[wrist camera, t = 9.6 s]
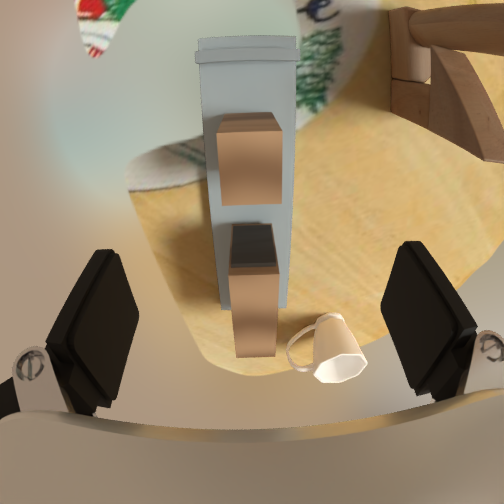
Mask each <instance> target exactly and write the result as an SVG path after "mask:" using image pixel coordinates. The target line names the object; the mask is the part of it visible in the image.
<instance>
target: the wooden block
mask: <svg viewBox="0 0 504 504" xmlns="http://www.w3.org/2000/svg"><path fill="white" fill-rule="evenodd" d="M389 23H390V39H391V68H392V78H394V79H393V80H392V82H391V112H392V113H393V114H396V115H398V116H400V117H402V118H405V119H407V120H409V121H411V122H413V123H415V124H418V125H420V126H422V127H424V128H426V129H428V130H429V131H431V132H433V133H435V134H437V135H439V136H441V137H443V138H445V139H447V140H449V141H450V142H452V143H454V144H456V145H458V146H459V147H461V148H463V149H465V150H466V151H468V152H470V153H471V154H473V155H475V156H476V157H478V158H480V159H481V160H483V161H487V162H496V163H503V164H504V129H503V127H502V124H501V122H500V120H499V118H498V115H497V113H496V111H495V109H494V107H493V105H492V102H491V100H490V98H489V96H488V94H487V92H486V90H485V88H484V87H483V85H482V83H481V81H480V79H479V77H478V75H477V74H476V72H475V70H474V68H473V67H472V65H471V63H470V62H469V60H468V58H467V57H466V55H465V54H464V53H460V52H457V51H454V50H460V51H470V52H478V53H486V54H492V55H499V56H504V3H495V4H473V5H460V6H451V7H442V8H435V9H428V10H418V9H414V8H410V7H402V8H398V9H394V10H390V11H389ZM430 77H431V85H430V84H425V82H426V81H427V80H428V79H429V78H430Z"/></svg>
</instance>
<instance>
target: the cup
mask: <svg viewBox="0 0 504 504" xmlns="http://www.w3.org/2000/svg"><path fill="white" fill-rule="evenodd" d="M312 329H316V330H315V332H314V341H313V363H311V364H309V365H306V366H303V367H302V366H298V365H297V364H295V363H294V362H292V360H291V358H290V356H289V349H290V346H291V345H292V344H293V343H294V342H295V341H296V340H297V339H298V338H300V337H301V336H302V335H303V334H305V333H306V332H308V331H310V330H312ZM286 353H287V357H288V361H289V363H290V364H291V366H292V367H293V368H294V369H296V370H297V371H302V372H305V371H311V370H313V375H314V376H315V377H316V378H317V379H318V380H320V381H321V382H322V383H340V382H343V381H345V380H348V379H350V378H353V377H355V376H357V375H359V374H360V373H361V371H362V370H363V369H364V367H365V366H366V365H367V361H366V359H365V357H364V355H363V353H362V351H361V350H360V347H359V345H358V343H357V341H356V339H355V337H354V336H353V334H352V333H351V331H350V330H349V328H348V327H347V325H346V324H345V321H344V319H343V317H342V316H341V314H340V313H331V312H328V313H326V314H324V315H322V316H320V317H318V318H317V320H316V322H315V324H312V325H309V326H307V327H305V328H304V329H302V330H301V331H300V332H298V333H297V334H296V335H295V336H293V337H292V338H291V340H290V341H289V342H288V343H287V347H286Z"/></svg>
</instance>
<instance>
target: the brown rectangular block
mask: <svg viewBox="0 0 504 504" xmlns="http://www.w3.org/2000/svg"><path fill="white" fill-rule="evenodd" d="M216 134H217V148H218V162H219V175H220V188H221V200H222V206H233V205H261V204H282V151H283V131H282V129H281V127H280V126H279V124H278V122H277V120H276V119H275V117H274V115H273V113H272V112H252V113H228V114H224V117H223V119H222V121H221V124H220V126H219V129H218V131H217V133H216Z"/></svg>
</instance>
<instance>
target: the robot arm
mask: <svg viewBox="0 0 504 504" xmlns="http://www.w3.org/2000/svg"><path fill="white" fill-rule="evenodd" d="M381 313H382V315H383V318H384V320H385V323H386V325H387V327H388V330H389V332H390V335H391V337H392V340H393V342H394V345H395V347H396V350H397V353H398V356H399V358H400V361H401V364H402V366H403V369H404V372H405V375H406V377H407V380H408V383H409V385H410V387H411V388H412V389H414V390H415V393H416V395H417V396H419V395H423V394H427V393H431V395H432V400H431V402H430V404H427V405H423V406H420V407H415V408H411V409H408V410H403V411H399V412H394V413H390V414H385V415H380V416H375V417H370V418H364V419H358V420H352V421H345V422H338V423H331V424H323V425H313V426H304V427H291V428H276V429H252V430H251V429H250V430H218V429H217V430H216V429H191V428H176V427H164V426H154V425H145V424H137V423H130V422H122V421H115V420H108V419H103V418H98V417H97V415H96V413H95V412H96V408H97V406H100V407H106V408H110V407H111V403H112V400H115V399H116V398H117V395H118V391H119V387H120V383H121V379H122V375H123V372H124V368H125V365H126V361H127V357H128V354H129V350H130V347H131V344H132V340H133V336H134V333H135V330H136V327H137V324H138V320H139V311H138V308H137V306H136V303H135V300H134V297H133V294H132V292H131V289H130V286H129V283H128V280H127V277H126V274H125V271H124V268H123V265H122V262H121V259H120V256H119V254H117V253H115V252H114V251H113V250H112V249H102V250H96V251H95V252H94V254H93V255H92V257H91V259H90V260H89V262H88V264H87V265H86V267H85V269H84V270H83V272H82V274H81V275H80V277H79V279H78V281H77V282H76V284H75V286H74V287H73V289H72V291H71V293H70V295H69V296H68V298H67V300H66V302H65V304H64V306H63V308H62V309H61V311H60V313H59V315H58V317H57V319H56V321H55V323H54V325H53V327H52V329H51V331H50V333H49V335H48V337H47V339H46V343H47V345H46V348H45V349H43V348H42V347H38V346H33V347H30V348H27V349H25V350H24V351H22V352H21V353H20V354H19V355H18V356H17V358H16V360H15V362H14V364H13V368H12V375H13V377H11V378H10V379H8V380H6V381H5V382H3V383H2V384H0V504H504V339H503V338H502V337H501V336H500V335H499V334H497V333H496V332H493V331H490V330H484V331H482V332H480V333H479V334H478V335H477V333H476V331H475V330H476V328H477V327H478V326H477V324H476V322H475V321H474V319H473V317H472V316H471V314H470V312H469V311H468V309H467V307H466V306H465V304H464V303H463V301H462V299H461V298H460V296H459V295H458V293H457V292H456V290H455V289H454V287H453V286H452V284H451V283H450V281H449V280H448V278H447V277H446V275H445V274H444V272H443V271H442V270H441V268H440V267H439V265H438V264H437V262H436V261H435V260H434V258H433V257H432V256H431V254H430V253H429V251H428V250H427V249H426V247H425V246H424V245H423V243H422V242H420V241H405V242H404V243H403V245H402V246H400V247H399V248H398V251H397V254H396V258H395V261H394V264H393V268H392V271H391V274H390V277H389V280H388V283H387V286H386V289H385V292H384V295H383V298H382V301H381Z"/></svg>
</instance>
